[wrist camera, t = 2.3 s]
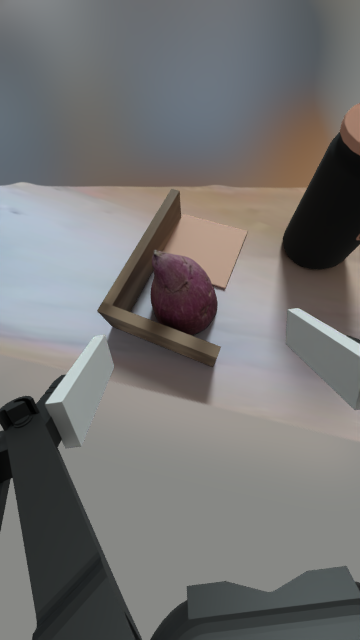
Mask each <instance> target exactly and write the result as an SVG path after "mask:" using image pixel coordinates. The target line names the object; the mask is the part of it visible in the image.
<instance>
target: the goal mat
mask: <svg viewBox="0 0 360 640" xmlns="http://www.w3.org/2000/svg"><path fill="white" fill-rule="evenodd" d="M247 232H248V231H246V230H242V229H238V228H234V227H231V226H227V225H223V224H219V223H216V222H212V221H208V220H204V219H200V218H197V217H193V216H189V215H185V214H183V215H182V217H181V219H180V220H179V222H178V224H177V226H176V228H175V229H174V231H173V233H172V235H171V237H170V239H169V240H168V242H167V244H166V246H165V248H164V249H163V251H162V252H166V253H171V254H175V255H181V256H185V257H189V258H190V259H192V260H194V261H195V262H196V263H198V264H199V265H200V266H201V267H202V269H203V270H204V271H205V272H206V274H207V275H208V277H209V278H210V281H211V283H212V285H214V286H217V287H220V288H223V289H225V288H226V285H227V282H228V280H229V277H230V275H231V272H232V270H233V267H234V265H235V262H236V260H237V257H238V255H239V252H240V250H241V247H242V244H243V242H244V239H245V237H246V234H247Z"/></svg>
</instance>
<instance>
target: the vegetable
mask: <svg viewBox="0 0 360 640" xmlns="http://www.w3.org/2000/svg"><path fill="white" fill-rule="evenodd" d="M152 267H153V271H154V279H153V282H152V287H151V304H152V307H153V310H154V313H155V316H156V318H157V320H158V322H159V323H160V324H162V325H165V326H168V327H170V328H173V329H175V330H178V331H181V332H183V333H186V334H189V335H194V334H197V333H199V332H201V331H203V330H204V329H206V328H207V327H208V326H209V324H210V323H211V321H212V320H213V318H214V317H215V315H216V312H217V298H216V294H215V290H214V288H213V287H212V283H211V281H210V278H209V277H208V275H207V274H206V272H205V271H204V270H203V269H202V267H201V266H200V265H199V264H198V263H196V262H195V261H194V260H192V259H190V258H189V257H185V256H181V255H175V254H171V253H166V252H161V251H157V250H154V254H153V256H152Z"/></svg>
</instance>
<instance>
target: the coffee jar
mask: <svg viewBox="0 0 360 640" xmlns="http://www.w3.org/2000/svg"><path fill="white" fill-rule="evenodd" d="M283 244H284V248H285V251H286V253H287V255H288V257H289V258H290V259H291V260H293V261H294V262H295V263H296V264H298V265H300V266H302V267H305V268H309V269H326V268H330V267H333V266H336V265H337V264H339V263H341V262H342V261H343V260H344V259H345V258H346V257H347V256H348V255H349V254H350V253H351V252H352V251H353V250H355V249H356V248H357V247H358V246H359V245H360V103H359V104H357V105H355V106H353V107H352V108H351V109H350V110H349V111H348V112H347V114H346V115H345V116H344V119H343V121H342V124H341V129H340V132H339V133H338V135H337V136H336V137H335V138H334V139H333V140H332V142H331V143H330V145H329V147H328V149H327V151H326V153H325V155H324V157H323V159H322V161H321V163H320V164H319V166H318V168H317V170H316V172H315V174H314V176H313V178H312V180H311V182H310V184H309V186H308V188H307V190H306V192H305V194H304V195H303V197H302V199H301V201H300V203H299V205H298V207H297V209H296V211H295V213H294V215H293V217H292V219H291V221H290V223H289V225H288V227H287V228H286V230H285V233H284V236H283Z"/></svg>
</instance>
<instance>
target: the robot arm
mask: <svg viewBox="0 0 360 640" xmlns="http://www.w3.org/2000/svg"><path fill="white" fill-rule="evenodd" d="M286 344H287V345H288V346H289V347H290V348H291V349H292V350H293V351H294V352H295V353H296V354H297V355H298V356H299V357H300V358H301V359H302V360H303V361H304V362H305V363H306V364H307V365H308V366H309V367H311V368H312V369H313V370H314V371H315V372H316V373H317V374H318V375H319V376H320V377H321V378H322V379H323V380H324V381H325V382H326V383H327V384H328V385H329V386H330V387H331V388H332V389H333V390H334V391H335V392H337V393H338V394H339V395H340V396H341V397H342V398H343V399H344V400H345V401H346V402H347V403H348V404H349V405H350V406H351V407H352V408H353V409H354V410H359V409H360V340H359V339H356V338H353V337H350V336H345V335H344V334H342V333H340V332H338V331H337V330H335V329H333V328H332V327H330V326H328V325H326V324H325V323H323V322H321V321H320V320H318V319H316V318H315V317H313V316H311V315H309V314H308V313H306V312H304V311H303V310H301V309H299V308H294V309H288V311H287V327H286ZM113 369H114V364H113V360H112V357H111V354H110V350H109V347H108V343H107V340H106V337H105V335H99V336H94V337H93V339H92V340H91V341H90V343H89V344H88V345H87V347H86V348H85V350H84V351H83V352H82V354H81V355H80V356H79V358H78V359H77V361H76V362H75V363H74V365H73V366H72V367H71V369H70V370H69V371H68V373H67V374H66V375H61V376H60V377H59V378H58V379H56V380H55V381H54V382H53V383H52V385H51V386H50V387H49V389H48V390H47V391H46V392H45V394H44V395H43V396H42V397H41V398H40V400H39V401H38V402H37V404H35V402H34V400H33V398H32V397H30V396H23V397H19V398H17V399H14V400H12V401H11V402H9V403H7V404H5V406H3V407H2V408H1V409H0V424H1V426H2V427H3V429H4V431H0V530H1V525H2V520H3V515H4V510H5V505H6V499H7V494H8V488H9V484H10V479H11V478H13V482H14V488H15V494H16V500H17V505H18V512H19V517H20V523H21V529H22V534H23V541H24V547H25V553H26V558H27V565H28V571H29V576H30V582H31V588H32V594H33V600H34V606H35V611H36V619H37V628H36V630H35V632H34V633H33V637H32V640H142V638H141V636H140V634H139V632H138V629H137V627H136V625H135V623H134V621H133V619H132V616H131V614H130V612H129V610H128V608H127V606H126V604H125V601H124V599H123V597H122V594H121V592H120V590H119V587H118V585H117V583H116V581H115V578H114V576H113V574H112V571H111V569H110V567H109V565H108V562H107V560H106V558H105V555H104V553H103V551H102V549H101V546H100V544H99V542H98V539H97V537H96V535H95V532H94V530H93V528H92V525H91V523H90V521H89V519H88V516H87V514H86V512H85V510H84V507H83V505H82V503H81V500H80V498H79V496H78V493H77V491H76V489H75V487H74V484H73V482H72V480H71V478H70V475H69V473H68V471H67V468H66V466H65V464H64V462H63V459H62V457H61V455H60V452H59V450H58V448H57V447H58V445H59V443H60V442H61V440H62V442H63V444H64V446H65V448H73V447H81V446H82V444H83V441H84V439H85V436H86V434H87V432H88V429H89V427H90V424H91V422H92V420H93V417H94V415H95V412H96V410H97V407H98V405H99V403H100V400H101V398H102V395H103V393H104V391H105V388H106V386H107V383H108V381H109V379H110V376H111V374H112V371H113ZM150 640H360V583H359V582H355V581H354V580H353V578H352V576H351V574H350V572H349V570H348V568H347V566H344V567H335V568H328V569H319V570H312V571H306V572H305V573H303V574H301V575H300V576H298V577H296V578H295V579H293V580H292V581H290V582H288V583H287V584H285V585H283V586H282V587H280V588H278V589H277V590H275V591H273V592H265V591H261V590H257V589H253V588H249V587H246V586H241V585H238V584H234V583H230V582H226V581H224V582H216V583H208V584H201V585H192V586H187V600H186V601H185V602H183V603H181V604H180V605H179V606H177V607H176V608H175V609H174V610H173V611H172V612H170V614H169V615H168V616H167V617H166V618H165V619H164V620H163V621H162V623H161V624H160V625H159V627H158V628H157V630H156V631H155V632H154V634H153V636H152V638H151V639H150Z"/></svg>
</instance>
